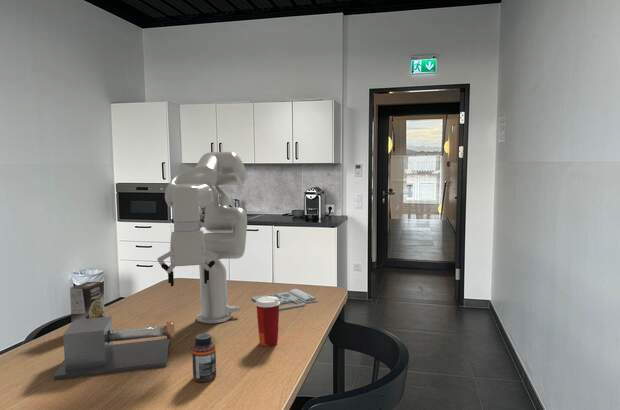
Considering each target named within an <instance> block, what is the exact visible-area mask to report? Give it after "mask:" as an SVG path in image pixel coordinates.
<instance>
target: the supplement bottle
mask: <svg viewBox="0 0 620 410" xmlns="http://www.w3.org/2000/svg"><path fill="white" fill-rule="evenodd" d="M216 354H217V353H216V343H214V341H212V334H211V333H200V334H197V335H196V336H195V342H194V344H193V345H192V347H191V355H192V357H191V359H192V378H193V380H194V381H196V382H198V383H207V382H210V381H212V380H214V379H215V378H216V377H217V355H216Z"/></svg>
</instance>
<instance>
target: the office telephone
mask: <svg viewBox="0 0 620 410" xmlns="http://www.w3.org/2000/svg"><path fill="white" fill-rule="evenodd" d="M266 296H273V297H277V298H278V299H279V301H280V304H279V312H281V311H283V310H284V311H286V310H290V309H296V308H301V307H305V306H307V305H308V304H313V303H317V302H319V299H318V298H316V297H314V296H312V295H310V294H308V293H307V292H305V291H302V290H300V289H298V288H293V289H289V291H285V292H280V293H279V292H278V293H272V294H264V295H259V296H252V297H251V300H252V301H253V302H255V303H256V301H257V299H258V298H261V297H266ZM290 303H294V304H292V305H287V306H281V307H280V305H284V304H285V305H286V304H290Z"/></svg>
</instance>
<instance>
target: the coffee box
mask: <svg viewBox="0 0 620 410" xmlns="http://www.w3.org/2000/svg"><path fill="white" fill-rule="evenodd" d="M69 296H70V299H69V300H70V316H71V323H72V322H73V321H74V320H78V319H89V318H100V317H106V315H105V314H106V312H105V310H106V309H105V292H104V281H86V282H83V283H80V284H77V285H74V286H70V287H69Z"/></svg>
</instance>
